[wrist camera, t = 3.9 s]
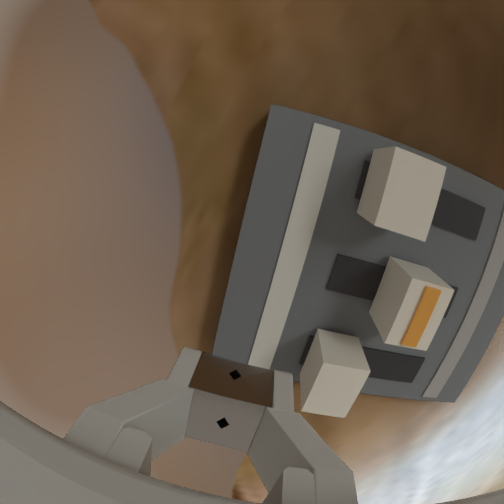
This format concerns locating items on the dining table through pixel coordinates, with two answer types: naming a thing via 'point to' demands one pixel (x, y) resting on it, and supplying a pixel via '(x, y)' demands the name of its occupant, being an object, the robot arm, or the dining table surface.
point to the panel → (356, 261)
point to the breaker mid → (409, 304)
